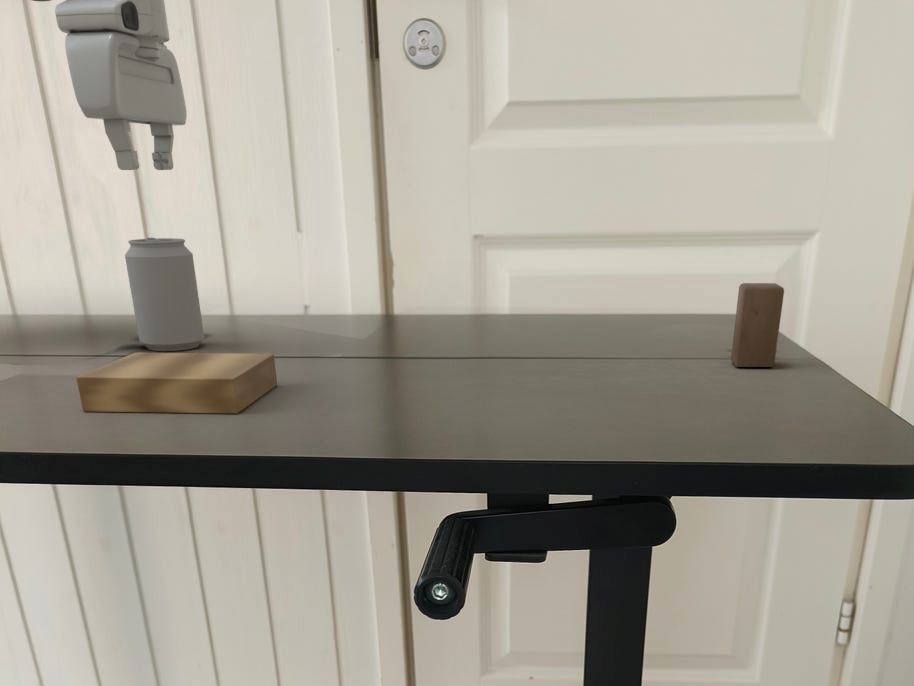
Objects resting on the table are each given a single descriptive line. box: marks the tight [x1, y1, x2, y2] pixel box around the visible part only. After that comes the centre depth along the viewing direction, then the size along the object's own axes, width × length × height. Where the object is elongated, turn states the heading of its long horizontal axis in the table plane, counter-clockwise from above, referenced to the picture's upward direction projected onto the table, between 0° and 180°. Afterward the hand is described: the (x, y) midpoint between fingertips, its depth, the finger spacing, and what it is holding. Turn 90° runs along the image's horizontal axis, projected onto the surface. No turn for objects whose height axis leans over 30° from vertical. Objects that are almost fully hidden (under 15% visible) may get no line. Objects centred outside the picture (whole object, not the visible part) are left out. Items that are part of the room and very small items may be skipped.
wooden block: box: [730, 282, 785, 368], centre depth 95 cm, size 4×4×8 cm
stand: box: [76, 352, 278, 415], centre depth 84 cm, size 14×12×3 cm
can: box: [124, 237, 205, 352], centre depth 107 cm, size 8×8×12 cm
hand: (147, 170), depth 101 cm, fingers open, 8 cm apart
